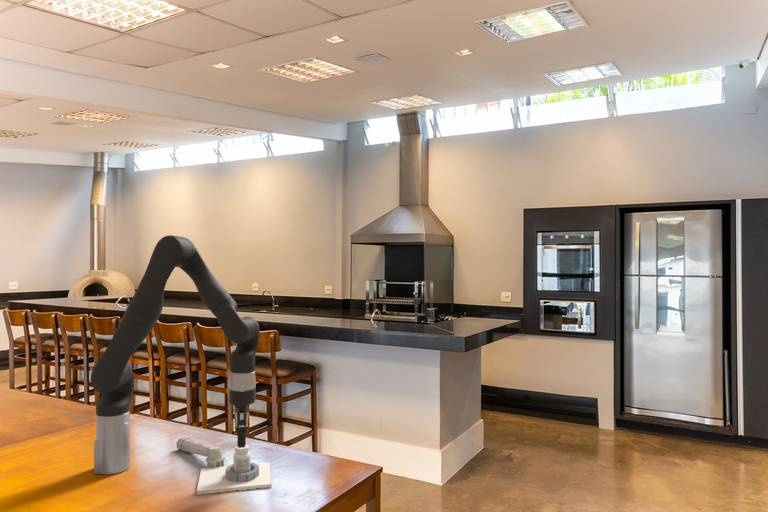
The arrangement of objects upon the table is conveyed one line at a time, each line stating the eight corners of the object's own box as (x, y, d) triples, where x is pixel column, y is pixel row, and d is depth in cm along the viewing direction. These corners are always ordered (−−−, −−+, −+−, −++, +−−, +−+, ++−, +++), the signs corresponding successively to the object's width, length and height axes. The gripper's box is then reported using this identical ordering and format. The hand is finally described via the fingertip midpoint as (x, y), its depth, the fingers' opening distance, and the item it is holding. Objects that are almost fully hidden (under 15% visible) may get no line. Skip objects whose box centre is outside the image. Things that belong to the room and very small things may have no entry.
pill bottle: (234, 472, 167) (234, 443, 167) (251, 471, 167) (251, 443, 167) (232, 479, 162) (232, 449, 162) (249, 478, 163) (249, 449, 162)
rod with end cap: (188, 435, 191) (227, 443, 173) (190, 455, 190) (229, 465, 173) (173, 439, 187) (211, 447, 170) (175, 459, 186) (213, 470, 169)
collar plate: (196, 494, 154) (196, 483, 154) (201, 471, 170) (201, 461, 170) (271, 487, 159) (271, 476, 159) (269, 465, 174) (269, 456, 174)
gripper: (229, 381, 170) (229, 434, 170) (228, 393, 156) (227, 451, 157) (255, 380, 172) (254, 433, 172) (255, 392, 158) (255, 449, 158)
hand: (241, 442), depth 164 cm, fingers open, 8 cm apart
